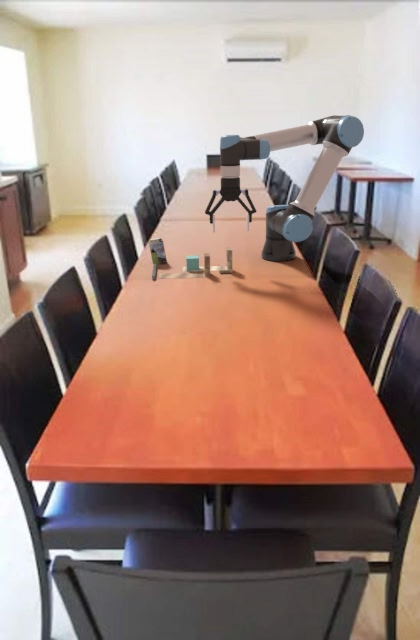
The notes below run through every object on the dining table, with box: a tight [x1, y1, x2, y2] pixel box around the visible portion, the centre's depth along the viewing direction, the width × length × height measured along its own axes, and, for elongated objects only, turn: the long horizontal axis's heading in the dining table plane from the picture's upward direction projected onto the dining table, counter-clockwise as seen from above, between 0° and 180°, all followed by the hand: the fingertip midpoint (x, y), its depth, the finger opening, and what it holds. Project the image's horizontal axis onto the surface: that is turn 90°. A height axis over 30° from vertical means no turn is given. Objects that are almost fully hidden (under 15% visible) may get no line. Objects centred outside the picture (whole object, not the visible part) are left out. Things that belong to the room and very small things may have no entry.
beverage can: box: [148, 236, 168, 266], centre depth 240 cm, size 6×7×12 cm
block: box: [185, 254, 200, 272], centre depth 230 cm, size 5×5×5 cm
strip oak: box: [158, 252, 211, 280], centre depth 221 cm, size 20×7×9 cm, turn 93°
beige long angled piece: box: [182, 246, 233, 274], centre depth 230 cm, size 20×7×9 cm, turn 93°
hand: (230, 231), depth 226 cm, fingers open, 13 cm apart
